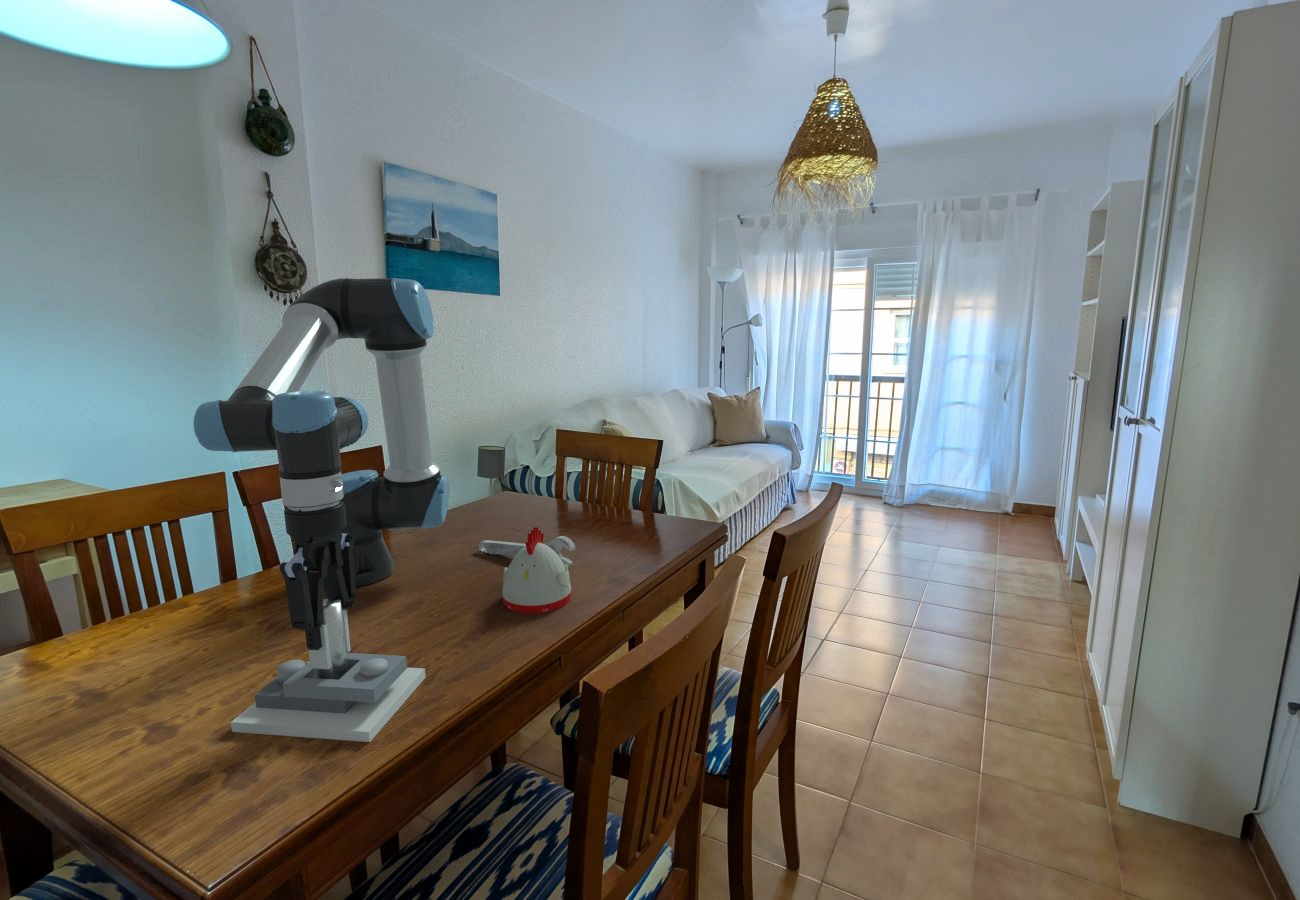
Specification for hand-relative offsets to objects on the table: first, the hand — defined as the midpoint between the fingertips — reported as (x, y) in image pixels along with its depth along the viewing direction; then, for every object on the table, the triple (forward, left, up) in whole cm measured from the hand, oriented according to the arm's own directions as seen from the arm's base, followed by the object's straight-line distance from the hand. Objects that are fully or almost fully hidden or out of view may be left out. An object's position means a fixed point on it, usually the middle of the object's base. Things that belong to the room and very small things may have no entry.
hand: (331, 658), depth 91 cm
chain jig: (0, 0, -7) cm, 7 cm away
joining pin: (0, 0, -6) cm, 6 cm away
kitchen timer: (+19, +39, -7) cm, 44 cm away
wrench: (+10, +59, -7) cm, 60 cm away
